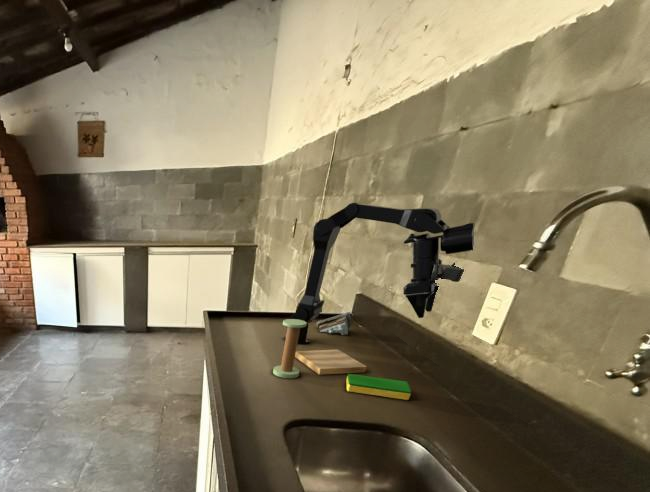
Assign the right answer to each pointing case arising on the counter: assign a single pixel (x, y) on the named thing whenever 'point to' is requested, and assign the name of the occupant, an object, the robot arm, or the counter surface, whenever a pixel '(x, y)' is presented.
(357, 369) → the birch platform
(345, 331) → the grey streaked wedge
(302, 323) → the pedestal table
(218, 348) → the counter surface
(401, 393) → the dish sponge
